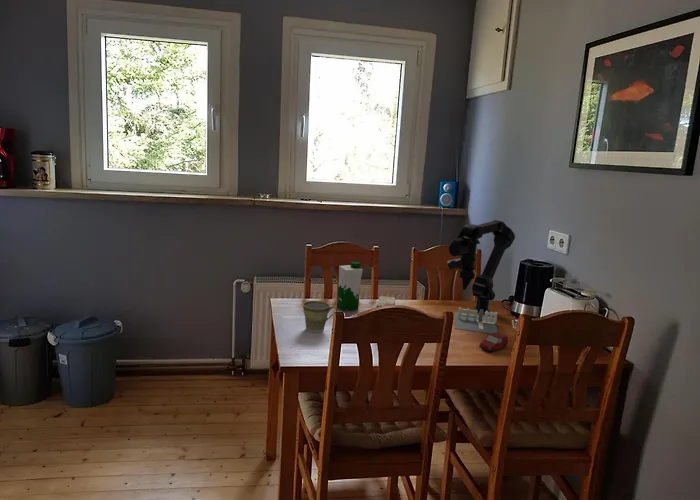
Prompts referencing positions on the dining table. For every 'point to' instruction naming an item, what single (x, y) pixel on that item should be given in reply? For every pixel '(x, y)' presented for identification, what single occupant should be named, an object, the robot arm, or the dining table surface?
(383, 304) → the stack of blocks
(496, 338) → the red toy car
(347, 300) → the milk carton
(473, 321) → the mat
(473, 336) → the dining table surface
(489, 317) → the fixed fence panel
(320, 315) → the ceramic cup
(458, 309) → the hinged fence panel
